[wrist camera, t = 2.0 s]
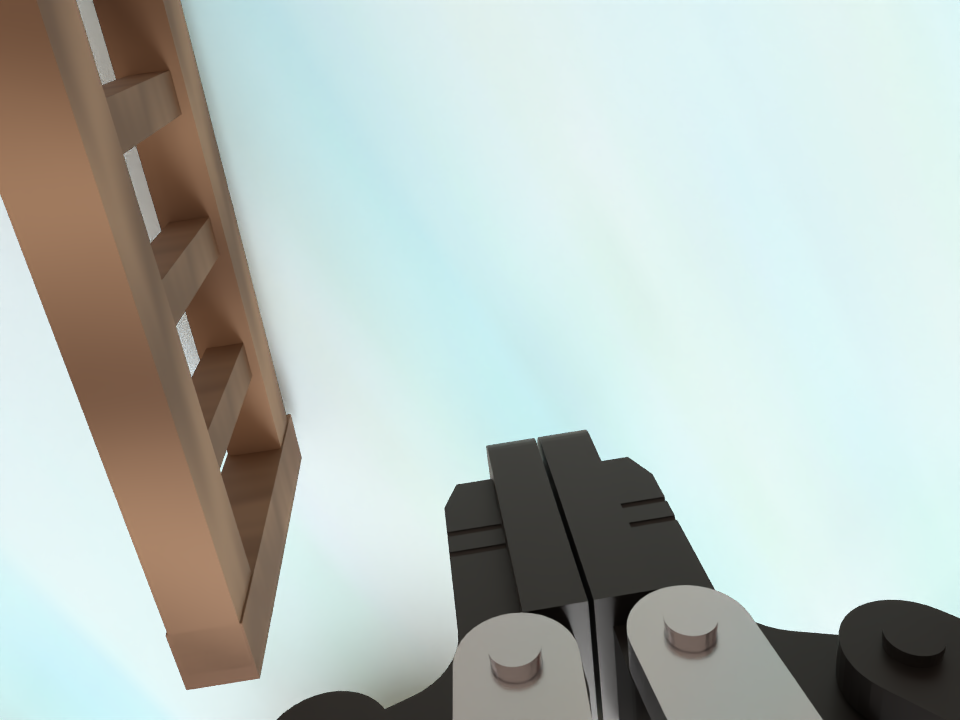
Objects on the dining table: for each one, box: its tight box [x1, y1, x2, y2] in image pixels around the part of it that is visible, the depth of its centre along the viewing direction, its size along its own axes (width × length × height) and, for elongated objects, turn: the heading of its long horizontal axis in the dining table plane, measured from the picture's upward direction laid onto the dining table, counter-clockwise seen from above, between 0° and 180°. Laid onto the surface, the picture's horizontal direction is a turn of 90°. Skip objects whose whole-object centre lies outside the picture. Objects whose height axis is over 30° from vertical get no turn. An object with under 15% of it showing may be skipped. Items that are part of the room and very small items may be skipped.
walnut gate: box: [0, 0, 302, 690], centre depth 18 cm, size 16×2×9 cm, turn 6°
